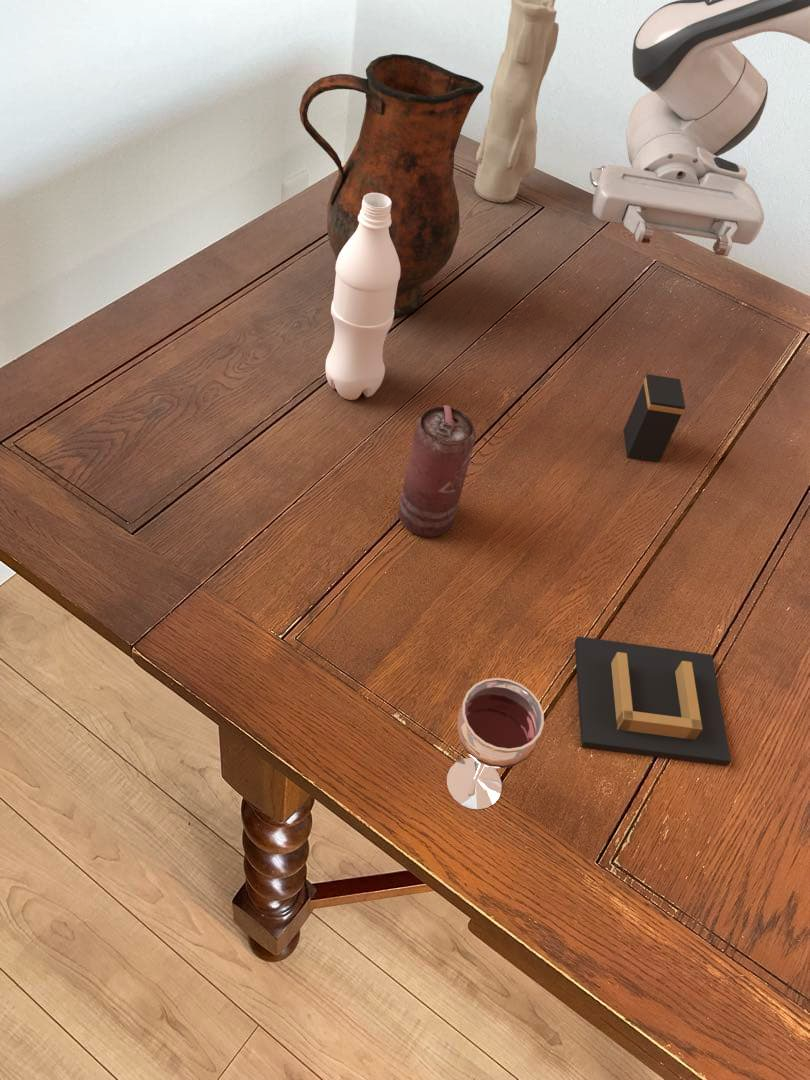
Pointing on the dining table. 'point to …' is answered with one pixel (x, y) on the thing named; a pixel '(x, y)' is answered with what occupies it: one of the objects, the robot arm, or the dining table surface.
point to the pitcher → (402, 162)
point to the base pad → (649, 701)
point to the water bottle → (363, 302)
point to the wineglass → (493, 738)
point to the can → (436, 470)
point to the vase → (516, 101)
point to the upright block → (653, 418)
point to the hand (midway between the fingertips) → (684, 244)
